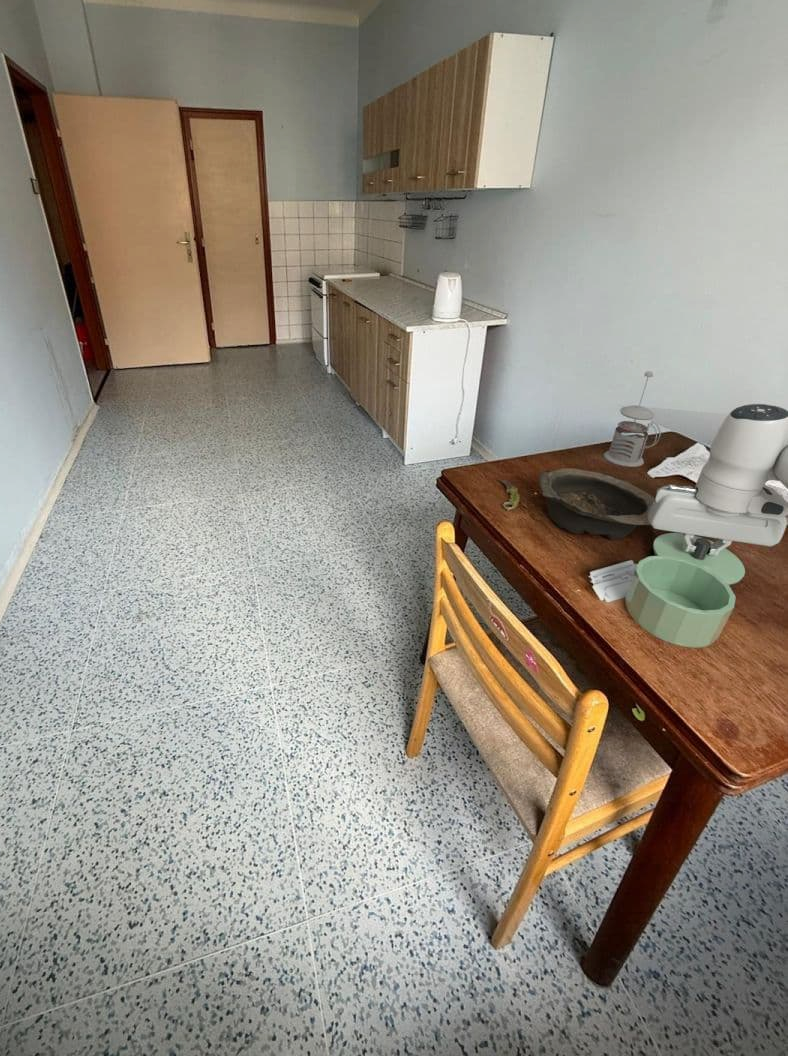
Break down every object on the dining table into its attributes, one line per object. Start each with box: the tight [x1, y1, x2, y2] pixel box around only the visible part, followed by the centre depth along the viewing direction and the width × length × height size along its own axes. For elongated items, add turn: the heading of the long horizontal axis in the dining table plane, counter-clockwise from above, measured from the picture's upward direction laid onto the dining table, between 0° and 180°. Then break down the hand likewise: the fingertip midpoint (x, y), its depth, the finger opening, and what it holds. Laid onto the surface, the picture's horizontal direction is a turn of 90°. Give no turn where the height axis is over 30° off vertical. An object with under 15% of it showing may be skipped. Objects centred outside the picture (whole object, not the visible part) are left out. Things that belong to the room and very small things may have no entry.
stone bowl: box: [539, 467, 654, 541], centre depth 104 cm, size 25×25×9 cm
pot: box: [624, 555, 737, 649], centre depth 80 cm, size 14×14×8 cm
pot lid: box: [652, 532, 746, 586], centre depth 91 cm, size 15×15×5 cm
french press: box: [603, 370, 661, 468], centre depth 125 cm, size 10×12×25 cm
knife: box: [493, 477, 521, 511], centre depth 116 cm, size 14×1×5 cm
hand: (699, 552), depth 91 cm, fingers closed on pot lid, 2 cm apart
